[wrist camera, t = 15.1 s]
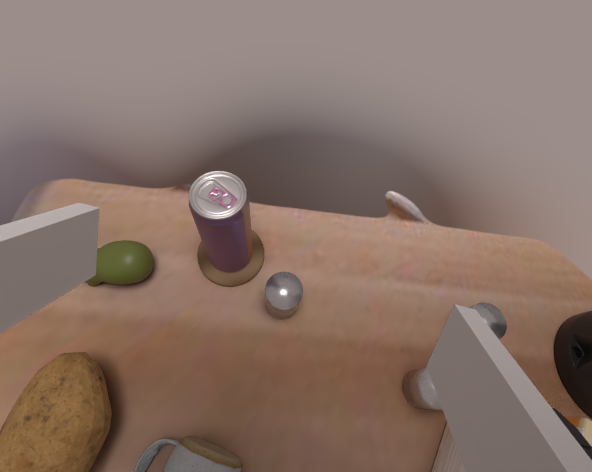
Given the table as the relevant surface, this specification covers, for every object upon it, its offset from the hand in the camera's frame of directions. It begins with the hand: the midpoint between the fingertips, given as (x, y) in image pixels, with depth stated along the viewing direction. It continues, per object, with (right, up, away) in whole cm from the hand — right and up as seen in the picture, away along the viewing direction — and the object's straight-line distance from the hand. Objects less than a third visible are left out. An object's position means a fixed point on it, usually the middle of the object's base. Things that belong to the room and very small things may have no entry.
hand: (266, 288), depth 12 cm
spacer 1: (-1, -7, +33) cm, 34 cm away
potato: (-23, -19, +25) cm, 39 cm away
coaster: (-8, -1, +35) cm, 36 cm away
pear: (-23, -3, +33) cm, 40 cm away
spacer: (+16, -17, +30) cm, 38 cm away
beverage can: (-8, -1, +34) cm, 35 cm away
